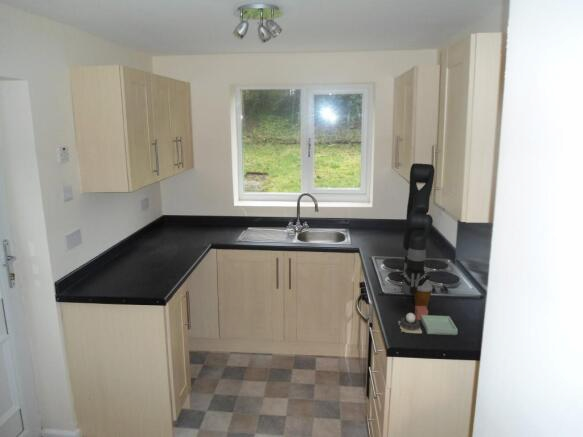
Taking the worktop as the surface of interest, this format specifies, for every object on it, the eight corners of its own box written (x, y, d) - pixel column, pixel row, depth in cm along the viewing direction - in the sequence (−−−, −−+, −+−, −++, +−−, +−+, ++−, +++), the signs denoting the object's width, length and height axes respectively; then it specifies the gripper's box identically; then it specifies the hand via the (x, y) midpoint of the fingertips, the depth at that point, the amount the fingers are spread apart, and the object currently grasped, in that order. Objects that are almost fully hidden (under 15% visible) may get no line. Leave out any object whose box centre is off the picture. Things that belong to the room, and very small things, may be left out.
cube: (414, 315, 219) (415, 305, 217) (424, 315, 218) (425, 306, 217) (416, 320, 214) (417, 310, 213) (427, 320, 214) (428, 310, 212)
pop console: (398, 323, 210) (398, 316, 209) (417, 323, 210) (418, 317, 209) (401, 332, 202) (402, 325, 201) (421, 333, 201) (422, 326, 200)
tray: (420, 319, 214) (421, 315, 213) (448, 321, 213) (449, 316, 212) (427, 333, 201) (427, 328, 200) (457, 335, 200) (457, 329, 200)
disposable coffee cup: (434, 306, 229) (436, 284, 226) (425, 312, 222) (427, 289, 219) (416, 300, 235) (418, 279, 232) (408, 306, 228) (410, 284, 225)
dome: (405, 319, 207) (405, 311, 206) (413, 319, 207) (414, 311, 206) (406, 323, 203) (407, 315, 202) (415, 323, 203) (416, 315, 202)
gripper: (429, 255, 200) (425, 291, 205) (399, 254, 201) (396, 290, 205) (433, 261, 193) (429, 298, 197) (402, 260, 194) (399, 296, 198)
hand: (412, 293), depth 201 cm, fingers closed
